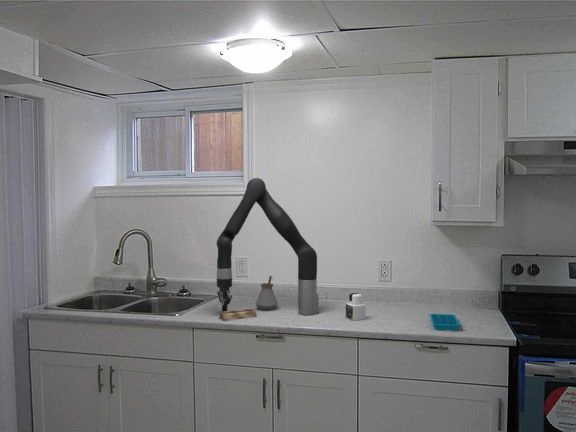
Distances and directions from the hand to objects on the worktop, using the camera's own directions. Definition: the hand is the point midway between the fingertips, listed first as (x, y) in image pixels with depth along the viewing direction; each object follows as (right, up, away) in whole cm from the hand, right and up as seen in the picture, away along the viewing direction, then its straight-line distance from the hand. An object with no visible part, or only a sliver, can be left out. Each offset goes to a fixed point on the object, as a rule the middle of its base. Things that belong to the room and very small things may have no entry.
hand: (224, 312), depth 256 cm
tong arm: (+6, -1, -3) cm, 7 cm away
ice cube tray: (+101, -3, -20) cm, 104 cm away
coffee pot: (+21, -1, +19) cm, 28 cm away
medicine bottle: (+63, -2, -7) cm, 64 cm away
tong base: (+8, -2, -5) cm, 10 cm away
